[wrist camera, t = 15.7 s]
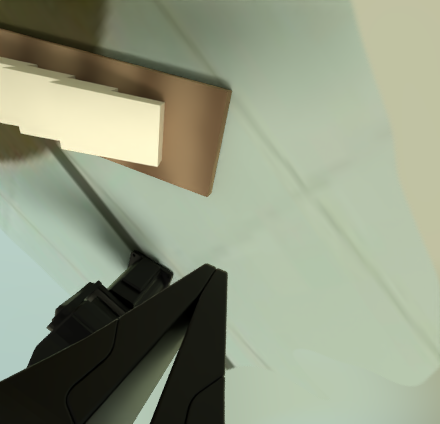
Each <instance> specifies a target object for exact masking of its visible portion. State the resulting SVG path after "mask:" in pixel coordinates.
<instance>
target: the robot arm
mask: <svg viewBox="0 0 440 424" xmlns="http://www.w3.org/2000/svg"><path fill="white" fill-rule="evenodd" d="M172 278H173V274H172V273H171V272H170V271H168V270H167V269H165V268H163V267H162V266H160V265H158V264H157V263H155V262H154V261H152V260H150V259H149V258H147V257H145V256H144V255H142V254H140V253H139V252H137V251H135V250H134V251H133V252H132V253H131V256H130V261H129V266H128V269H127V270H126V271H125V272H124V273H122V274H121V275H120V276H119V277H118V278H117V279H116V280H115V281H114V282H113V283H112V284H111V285H110V286H109V287H108V288H105V287H104V286H103V285H102V283H101V282H100V281H99V280H98V281H97V282H96V283H91V282H89V283H88V284H87V285H86V286H84V287H83V288H82V289H81V290H80V291H79V292H77V293H76V294H75V295H73V296H72V297H71V298H69V299H68V300H67V301H65V302H64V303H63V304H61V305H60V306H59V307H58V308H57V309H56V310H55V317H54V318H53V319H52V322H51V323H50V324H49V325H48V326H47V329H48V330H50V331H51V333H50V334H49V335H48V336H47V337H46V338H44V339H43V340H42V341H41V342H40V343H39V344H38V345H37V346H36V348H35V350H34V352H33V354H32V357H31V359H30V361H29V364H28V366H27V368H26V369H24V370H22V371H20V372H18V373H16V374H14V375H12V376H10V377H9V378H7V379H4V380H2V381H0V424H133V422H134V421H135V419H136V417H137V416H138V414H139V413H140V411H141V409H142V408H143V406H144V405H145V403H146V401H147V400H148V398H149V396H150V395H151V393H152V392H153V390H154V388H155V387H156V385H157V384H158V382H159V380H160V379H161V377H162V375H163V374H164V372H165V370H166V369H167V367H168V366H169V364H170V362H171V361H172V359H173V357H174V356H175V354H176V353H177V351H178V350H179V351H178V353H177V356H176V358H175V361H174V363H173V366H172V369H171V371H170V374H169V376H168V379H167V381H166V384H165V386H164V389H163V391H162V394H161V397H160V399H159V402H158V404H157V407H156V409H155V412H154V414H153V417H152V419H151V422H150V424H225V415H224V414H225V410H224V409H225V401H224V399H225V392H224V391H225V377H224V376H225V354H226V316H227V279H228V274H227V272H226V271H223V270H221V269H219V268H218V269H216V267H214V266H212V265H210V264H204V265H202V266H201V267H199V268H198V269H196V270H194V271H193V272H191V273H190V274H188V275H186V276H185V277H183V278H182V279H180V280H178V281H177V282H175V283H174V284H172V285H170V283H171V280H172ZM169 285H170V286H169Z"/></svg>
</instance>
